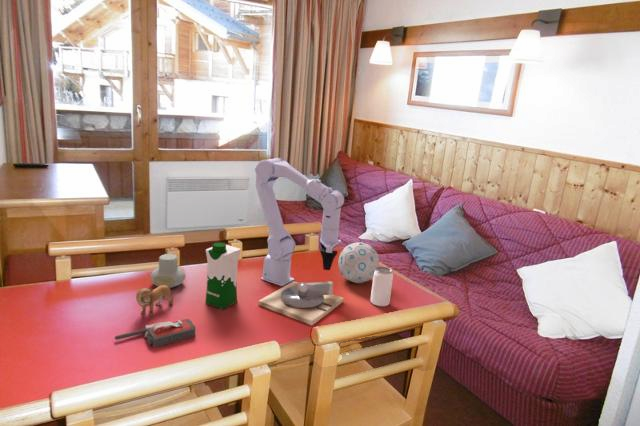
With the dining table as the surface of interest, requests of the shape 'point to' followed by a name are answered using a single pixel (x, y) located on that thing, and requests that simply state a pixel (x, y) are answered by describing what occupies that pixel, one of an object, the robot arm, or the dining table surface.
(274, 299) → the stand plate
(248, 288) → the dining table surface
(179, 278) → the air freshener
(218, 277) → the milk carton
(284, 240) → the robot arm
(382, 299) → the can
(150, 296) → the lion figurine
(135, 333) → the walkie-talkie
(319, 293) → the dial
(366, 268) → the puzzle ball
